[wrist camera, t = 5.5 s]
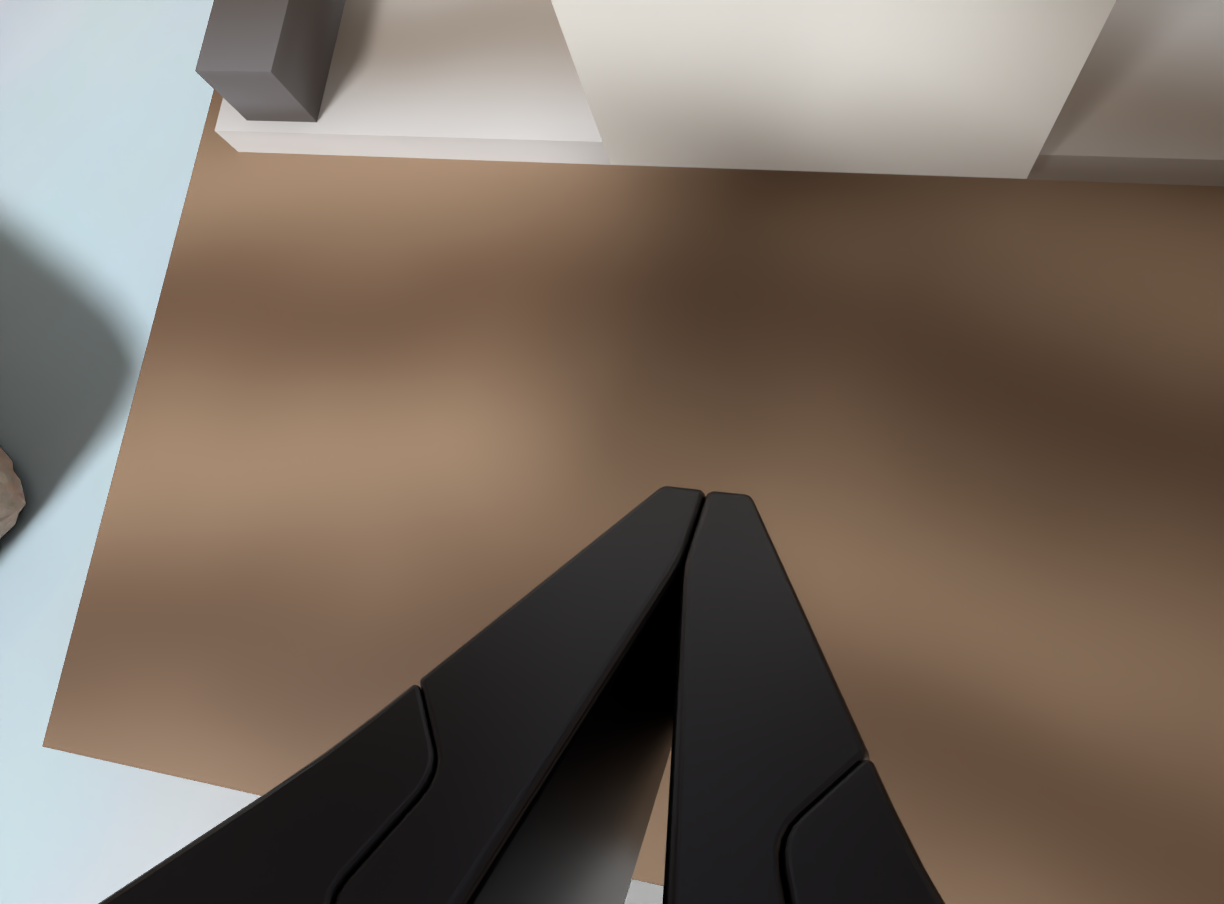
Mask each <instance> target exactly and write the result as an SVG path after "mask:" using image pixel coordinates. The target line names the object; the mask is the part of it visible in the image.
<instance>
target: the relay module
mask: <svg viewBox="0 0 1224 904" xmlns="http://www.w3.org/2000/svg"><path fill="white" fill-rule="evenodd" d="M551 2H552V5H553V8H554V10H555V13H556V16H557V18H558V21H559V24H560V27H561V29H562V32H563V35H564V38H565V40H566V43H567V46H568V49H569V51H570V54H571V57H572V60H573V62H574V65H575V68H576V71H577V73H578V76H579V79H580V82H581V84H582V87H583V90H584V93H585V95H586V98H587V101H588V104H589V106H590V109H591V112H592V115H593V117H594V120H595V123H596V125H597V128H598V131H599V134H600V136H601V139H602V142H603V145H604V147H605V150H606V153H607V156H608V158H609V161H610V164H616V165H644V166H673V167H702V168H730V169H759V170H788V171H816V172H845V173H874V174H902V175H931V176H960V177H988V178H1017V179H1027V177H1028V175H1029V173H1030V171H1031V169H1032V167H1033V165H1034V163H1035V161H1036V159H1037V157H1038V155H1039V153H1040V151H1041V149H1042V147H1043V145H1044V143H1045V141H1046V139H1047V137H1048V135H1049V133H1050V131H1051V129H1052V127H1053V125H1054V123H1055V121H1056V119H1057V117H1058V115H1059V113H1060V111H1061V109H1062V107H1063V105H1064V103H1065V101H1066V99H1067V97H1068V95H1069V93H1070V91H1071V89H1072V87H1073V85H1074V83H1075V81H1076V79H1077V77H1078V75H1079V73H1080V71H1081V69H1082V67H1083V66H1084V64H1085V62H1086V60H1087V58H1088V56H1089V54H1090V52H1091V50H1092V48H1093V46H1094V44H1095V42H1096V40H1097V38H1098V36H1099V34H1100V32H1101V30H1102V28H1103V26H1104V24H1105V22H1106V20H1107V18H1108V16H1109V14H1110V12H1111V10H1112V8H1113V6H1114V4H1115V2H1116V0H551Z"/></svg>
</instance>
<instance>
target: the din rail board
mask: <svg viewBox="0 0 1224 904" xmlns="http://www.w3.org/2000/svg"><path fill="white" fill-rule="evenodd" d="M195 71H196V72H197V73H198V74H199V75H200V76H201V77H202V78H203V79H204V80H205V81H206V82H207V83H208V84H209V85H210V86H212V87H213V88H214V92H213V95H212V99H211V103H210V107H209V111H208V115H207V118H206V122H205V126H204V130H203V134H202V138H201V141H200V145H199V149H198V153H197V157H196V160H195V164H194V168H193V172H192V176H191V180H190V183H189V187H188V191H187V195H186V199H185V203H184V206H183V210H182V214H181V218H180V222H179V226H178V229H177V233H176V237H175V241H174V245H173V248H172V252H171V256H170V260H169V264H168V268H167V271H166V275H165V279H164V283H163V287H162V291H161V294H160V298H159V302H158V306H157V310H156V314H155V317H154V321H153V325H152V329H151V333H150V336H149V340H148V344H147V348H146V352H145V356H144V359H143V363H142V367H141V371H140V375H139V379H138V382H137V386H136V390H135V394H134V398H133V402H132V405H131V409H130V413H129V417H128V421H127V424H126V428H125V432H124V436H123V440H122V444H121V447H120V451H119V455H118V459H117V463H116V467H115V470H114V474H113V478H112V482H111V486H110V490H109V493H108V497H107V501H106V505H105V509H104V512H103V516H102V520H101V524H100V528H99V532H98V535H97V539H96V543H95V547H94V551H93V555H92V558H91V562H90V566H89V570H88V574H87V578H86V581H85V585H84V589H83V593H82V597H81V600H80V604H79V608H78V612H77V616H76V620H75V623H74V627H73V631H72V635H71V639H70V643H69V646H68V650H67V654H66V658H65V662H64V666H63V669H62V673H61V677H60V681H59V685H58V688H57V692H56V696H55V700H54V704H53V708H52V711H51V715H50V719H49V723H48V727H47V731H46V734H45V738H44V742H43V747H47V748H52V749H56V750H61V751H65V752H69V753H74V754H78V755H83V756H87V757H92V758H96V759H101V760H105V761H110V762H114V763H118V764H123V765H127V766H132V767H136V768H141V769H145V770H150V771H154V772H158V773H163V774H167V775H172V776H176V777H181V778H185V779H190V780H194V781H199V782H203V783H207V784H212V785H216V786H221V787H225V788H230V789H234V790H239V791H243V792H247V793H252V794H256V795H261V796H263V795H264V794H266V793H267V792H268V791H270V790H271V789H273V788H274V787H276V786H277V785H279V784H280V783H282V782H283V781H284V780H286V779H287V778H289V777H290V776H292V775H293V774H295V773H296V772H298V771H299V770H300V769H302V768H303V767H305V766H306V765H308V764H309V763H311V762H312V761H314V760H315V759H316V758H318V757H319V756H321V755H322V754H324V753H325V752H326V751H328V750H329V749H330V748H332V747H333V746H334V745H336V744H337V743H338V742H340V741H341V740H342V739H344V738H345V737H346V736H348V735H349V734H350V733H352V732H353V731H354V730H355V729H357V728H358V727H359V726H361V725H362V724H363V723H365V722H366V721H367V720H369V719H370V718H371V717H373V716H374V715H375V714H377V713H378V712H379V711H381V710H382V709H383V708H384V707H386V706H387V705H388V704H389V703H391V702H392V701H393V700H394V699H396V698H397V697H398V696H399V695H401V694H402V693H403V692H404V691H406V690H407V689H408V688H409V687H411V686H412V685H418V686H419V687H420V680H421V678H422V677H424V676H425V675H426V674H427V673H429V672H430V671H431V670H432V669H434V668H435V667H436V666H437V665H439V664H440V663H441V662H442V661H444V660H445V659H446V658H447V657H449V656H450V655H451V654H452V653H454V652H455V651H456V650H457V649H459V648H460V647H461V646H462V645H464V644H465V643H466V642H467V641H469V640H470V639H471V638H472V637H474V636H475V635H476V634H477V633H479V632H480V631H481V630H483V629H484V628H485V627H486V626H488V625H489V624H490V623H491V622H493V621H494V620H495V619H496V618H498V617H499V616H500V615H501V614H503V613H504V612H505V611H506V610H508V609H509V608H510V607H511V606H513V605H514V604H515V603H516V602H518V601H519V600H520V599H521V598H523V597H524V596H525V595H526V594H528V593H529V592H530V591H531V590H533V589H534V588H535V587H536V586H538V585H539V584H540V583H541V582H543V581H544V580H545V579H546V578H548V577H549V576H550V575H551V574H553V573H554V572H555V571H556V570H558V569H559V568H560V567H561V566H563V565H564V564H565V563H566V562H568V561H569V560H570V559H571V558H573V557H574V556H575V555H576V554H578V553H579V552H580V551H581V550H583V549H584V548H585V547H586V546H588V545H589V544H590V543H591V542H593V541H594V540H595V539H596V538H598V537H599V536H600V535H601V534H603V533H604V532H605V531H606V530H608V529H609V528H610V527H611V526H613V525H614V524H615V523H616V522H618V521H619V520H620V519H621V518H623V517H624V516H625V515H626V514H628V513H629V512H630V511H631V510H633V509H634V508H635V507H636V506H638V505H639V504H640V503H641V502H643V501H644V500H645V499H647V498H648V497H649V496H650V495H652V494H653V493H654V492H655V491H657V490H658V489H659V488H661V487H664V486H672V487H681V488H690V489H699V490H701V491H703V492H704V494H705V496H706V495H707V494H708V493H710V492H712V491H718V492H728V493H738V494H746V495H749V496H750V497H751V498H752V499H753V501H754V503H755V505H756V507H757V509H758V511H759V514H760V516H761V518H762V520H763V522H764V524H765V527H766V529H767V531H768V533H769V535H770V538H771V540H772V542H773V544H774V546H775V549H776V551H777V553H778V555H779V557H780V559H781V562H782V564H783V566H784V568H785V570H786V573H787V575H788V577H789V579H790V581H791V584H792V586H793V588H794V590H795V592H796V595H797V597H798V599H799V601H800V603H801V605H802V608H803V610H804V612H805V614H806V616H807V619H808V621H809V623H810V625H811V627H812V630H813V632H814V634H815V636H816V638H817V640H818V643H819V645H820V647H821V649H822V651H823V654H824V656H825V658H826V660H827V662H828V665H829V667H830V669H831V671H832V673H833V676H834V678H835V680H836V682H837V684H838V686H839V689H840V691H841V693H842V695H843V697H844V700H845V702H846V704H847V706H848V708H849V711H850V713H851V715H852V717H853V719H854V722H855V724H856V726H857V728H858V730H859V732H860V735H861V737H862V739H863V741H864V743H865V746H866V748H867V750H868V752H869V760H870V761H872V762H873V763H874V764H875V766H876V768H877V771H878V773H879V775H880V777H881V779H882V782H883V784H884V786H885V788H886V790H887V793H888V795H889V797H890V799H891V801H892V803H893V806H894V808H895V810H896V812H897V814H898V816H899V818H900V820H901V822H902V824H903V826H904V828H905V830H906V832H907V834H908V836H909V838H910V840H911V842H912V844H913V846H914V848H915V850H916V852H917V854H918V856H919V858H920V860H921V862H922V864H923V866H924V868H925V870H926V871H927V873H928V875H929V876H930V878H931V880H932V882H933V883H934V885H935V887H936V888H937V890H938V892H939V894H940V895H941V897H942V899H943V901H944V902H945V904H1224V0H1116V2H1115V4H1114V6H1113V8H1112V10H1111V12H1110V14H1109V16H1108V18H1107V20H1106V22H1105V24H1104V26H1103V28H1102V30H1101V32H1100V34H1099V36H1098V38H1097V40H1096V42H1095V44H1094V46H1093V48H1092V50H1091V52H1090V54H1089V56H1088V58H1087V60H1086V62H1085V64H1084V66H1083V67H1082V69H1081V71H1080V73H1079V75H1078V77H1077V79H1076V81H1075V83H1074V85H1073V87H1072V89H1071V91H1070V93H1069V95H1068V97H1067V99H1066V101H1065V103H1064V105H1063V107H1062V109H1061V111H1060V113H1059V115H1058V117H1057V119H1056V121H1055V123H1054V125H1053V127H1052V129H1051V131H1050V133H1049V135H1048V137H1047V139H1046V141H1045V143H1044V145H1043V147H1042V149H1041V151H1040V153H1039V155H1038V157H1037V159H1036V161H1035V163H1034V165H1033V167H1032V169H1031V171H1030V173H1029V175H1028V177H1027V179H1017V178H988V177H960V176H931V175H902V174H874V173H845V172H816V171H788V170H759V169H730V168H702V167H673V166H644V165H616V164H610V161H609V158H608V156H607V153H606V150H605V147H604V145H603V142H602V139H601V136H600V134H599V131H598V128H597V125H596V123H595V120H594V117H593V115H592V112H591V109H590V106H589V104H588V101H587V98H586V95H585V93H584V90H583V87H582V84H581V82H580V79H579V76H578V73H577V71H576V68H575V65H574V62H573V60H572V57H571V54H570V51H569V49H568V46H567V43H566V40H565V38H564V35H563V32H562V29H561V27H560V24H559V21H558V18H557V16H556V13H555V10H554V8H553V5H552V2H551V0H214V2H213V6H212V10H211V14H210V17H209V21H208V25H207V29H206V32H205V36H204V40H203V44H202V47H201V51H200V55H199V59H198V62H197V66H196V70H195ZM420 688H421V687H420ZM671 748H672V747H671ZM670 766H671V750H670V754H669V757H668V760H667V764H666V767H665V770H664V774H663V777H662V780H661V783H660V787H659V790H658V793H657V797H656V800H655V803H654V806H653V810H652V813H651V816H650V820H649V823H648V826H647V830H646V833H645V836H644V839H643V843H642V846H641V849H640V853H639V856H638V859H637V862H636V866H635V869H634V872H633V876H632V879H635V880H639V881H643V882H648V883H652V884H657V885H661V886H664V872H665V854H666V837H667V819H668V801H669V784H670Z"/></svg>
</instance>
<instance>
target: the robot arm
mask: <svg viewBox="0 0 1224 904" xmlns="http://www.w3.org/2000/svg"><path fill="white" fill-rule="evenodd" d="M420 687H421V688H420ZM420 687H419V686H418V685H412V686H411V687H409V688H408V689H407V690H406V691H404V692H403V693H402V694H401V695H399V696H398V697H397V698H396V699H394V700H393V701H392V702H391V703H389V704H388V705H387V706H386V707H384V708H383V709H382V710H381V711H379V712H378V713H377V714H375V715H374V716H373V717H371V718H370V719H369V720H367V721H366V722H365V723H363V724H362V725H361V726H359V727H358V728H357V729H355V730H354V731H353V732H352V733H350V734H349V735H348V736H346V737H345V738H344V739H342V740H341V741H340V742H338V743H337V744H336V745H334V746H333V747H332V748H330V749H329V750H328V751H326V752H325V753H324V754H322V755H321V756H319V757H318V758H316V759H315V760H314V761H312V762H311V763H309V764H308V765H306V766H305V767H303V768H302V769H300V770H299V771H298V772H296V773H295V774H293V775H292V776H290V777H289V778H287V779H286V780H284V781H283V782H282V783H280V784H279V785H277V786H276V787H274V788H273V789H271V790H270V791H268V792H267V793H266V794H264V795H263V796H261V797H260V798H258V799H257V800H255V801H254V802H252V803H251V804H249V805H248V806H246V807H245V808H243V809H241V810H240V811H238V812H237V813H235V814H234V815H232V816H231V817H229V818H228V819H226V820H225V821H223V822H222V823H220V824H219V825H217V826H216V827H214V828H213V829H211V830H210V831H208V832H206V833H205V834H203V835H202V836H200V837H199V838H197V839H196V840H194V841H193V842H191V843H190V844H188V845H187V846H185V847H184V848H182V849H181V850H179V851H178V852H176V853H175V854H173V855H172V856H170V857H168V858H167V859H165V860H164V861H162V862H161V863H159V864H158V865H156V866H155V867H153V868H152V869H150V870H149V871H147V872H146V873H144V874H143V875H141V876H140V877H138V878H137V879H135V880H133V881H132V882H130V883H129V884H127V885H126V886H124V887H123V888H121V889H120V890H118V891H117V892H115V893H114V894H112V895H111V896H109V897H108V898H106V899H105V900H103V901H102V902H100V903H98V904H624V902H625V899H626V895H627V892H628V889H629V886H630V882H631V879H632V876H633V872H634V869H635V866H636V862H637V859H638V856H639V853H640V849H641V846H642V843H643V839H644V836H645V833H646V830H647V826H648V823H649V820H650V816H651V813H652V810H653V806H654V803H655V800H656V797H657V793H658V790H659V787H660V783H661V780H662V777H663V774H664V770H665V767H666V764H667V760H668V757H669V754H670V750H671V766H670V784H669V801H668V819H667V837H666V854H665V872H664V890H663V904H945V902H944V901H943V899H942V897H941V895H940V894H939V892H938V890H937V888H936V887H935V885H934V883H933V882H932V880H931V878H930V876H929V875H928V873H927V871H926V870H925V868H924V866H923V864H922V862H921V860H920V858H919V856H918V854H917V852H916V850H915V848H914V846H913V844H912V842H911V840H910V838H909V836H908V834H907V832H906V830H905V828H904V826H903V824H902V822H901V820H900V818H899V816H898V814H897V812H896V810H895V808H894V806H893V803H892V801H891V799H890V797H889V795H888V793H887V790H886V788H885V786H884V784H883V782H882V779H881V777H880V775H879V773H878V771H877V768H876V766H875V764H874V763H873V762H872V761H870V760H869V752H868V750H867V748H866V746H865V743H864V741H863V739H862V737H861V735H860V732H859V730H858V728H857V726H856V724H855V722H854V719H853V717H852V715H851V713H850V711H849V708H848V706H847V704H846V702H845V700H844V697H843V695H842V693H841V691H840V689H839V686H838V684H837V682H836V680H835V678H834V676H833V673H832V671H831V669H830V667H829V665H828V662H827V660H826V658H825V656H824V654H823V651H822V649H821V647H820V645H819V643H818V640H817V638H816V636H815V634H814V632H813V630H812V627H811V625H810V623H809V621H808V619H807V616H806V614H805V612H804V610H803V608H802V605H801V603H800V601H799V599H798V597H797V595H796V592H795V590H794V588H793V586H792V584H791V581H790V579H789V577H788V575H787V573H786V570H785V568H784V566H783V564H782V562H781V559H780V557H779V555H778V553H777V551H776V549H775V546H774V544H773V542H772V540H771V538H770V535H769V533H768V531H767V529H766V527H765V524H764V522H763V520H762V518H761V516H760V514H759V511H758V509H757V507H756V505H755V503H754V501H753V499H752V498H751V497H750V496H749V495H746V494H738V493H728V492H718V491H712V492H710V493H708V494H707V495H706V496H705V494H704V492H703V491H701V490H699V489H690V488H681V487H672V486H664V487H661V488H659V489H658V490H657V491H655V492H654V493H653V494H652V495H650V496H649V497H648V498H647V499H645V500H644V501H643V502H641V503H640V504H639V505H638V506H636V507H635V508H634V509H633V510H631V511H630V512H629V513H628V514H626V515H625V516H624V517H623V518H621V519H620V520H619V521H618V522H616V523H615V524H614V525H613V526H611V527H610V528H609V529H608V530H606V531H605V532H604V533H603V534H601V535H600V536H599V537H598V538H596V539H595V540H594V541H593V542H591V543H590V544H589V545H588V546H586V547H585V548H584V549H583V550H581V551H580V552H579V553H578V554H576V555H575V556H574V557H573V558H571V559H570V560H569V561H568V562H566V563H565V564H564V565H563V566H561V567H560V568H559V569H558V570H556V571H555V572H554V573H553V574H551V575H550V576H549V577H548V578H546V579H545V580H544V581H543V582H541V583H540V584H539V585H538V586H536V587H535V588H534V589H533V590H531V591H530V592H529V593H528V594H526V595H525V596H524V597H523V598H521V599H520V600H519V601H518V602H516V603H515V604H514V605H513V606H511V607H510V608H509V609H508V610H506V611H505V612H504V613H503V614H501V615H500V616H499V617H498V618H496V619H495V620H494V621H493V622H491V623H490V624H489V625H488V626H486V627H485V628H484V629H483V630H481V631H480V632H479V633H477V634H476V635H475V636H474V637H472V638H471V639H470V640H469V641H467V642H466V643H465V644H464V645H462V646H461V647H460V648H459V649H457V650H456V651H455V652H454V653H452V654H451V655H450V656H449V657H447V658H446V659H445V660H444V661H442V662H441V663H440V664H439V665H437V666H436V667H435V668H434V669H432V670H431V671H430V672H429V673H427V674H426V675H425V676H424V677H422V678H421V680H420ZM671 747H672V748H671Z"/></svg>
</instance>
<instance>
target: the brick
mask: <svg viewBox="0 0 1224 904" xmlns="http://www.w3.org/2000/svg"><path fill="white" fill-rule="evenodd" d="M25 504H26V503H25V498H24V493H23V488H22V484H21V480H20V479H19V478H18V476H17V475H16V473H15V472H14V471H13V463H12V460H11V459H10V458H9V457H8V455H7V454H6V453H5V452H4V451H3V450H2V448H1V447H0V539H1V537H2V536H3V535H4V534H5V533H7V532H8V531H9V530H10V529H11V528H12V527H13V526H14V525H15V524H16V521H17V518H18V515H19V512H20V511H21V510H22V508H23V507H24V506H25Z"/></svg>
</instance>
